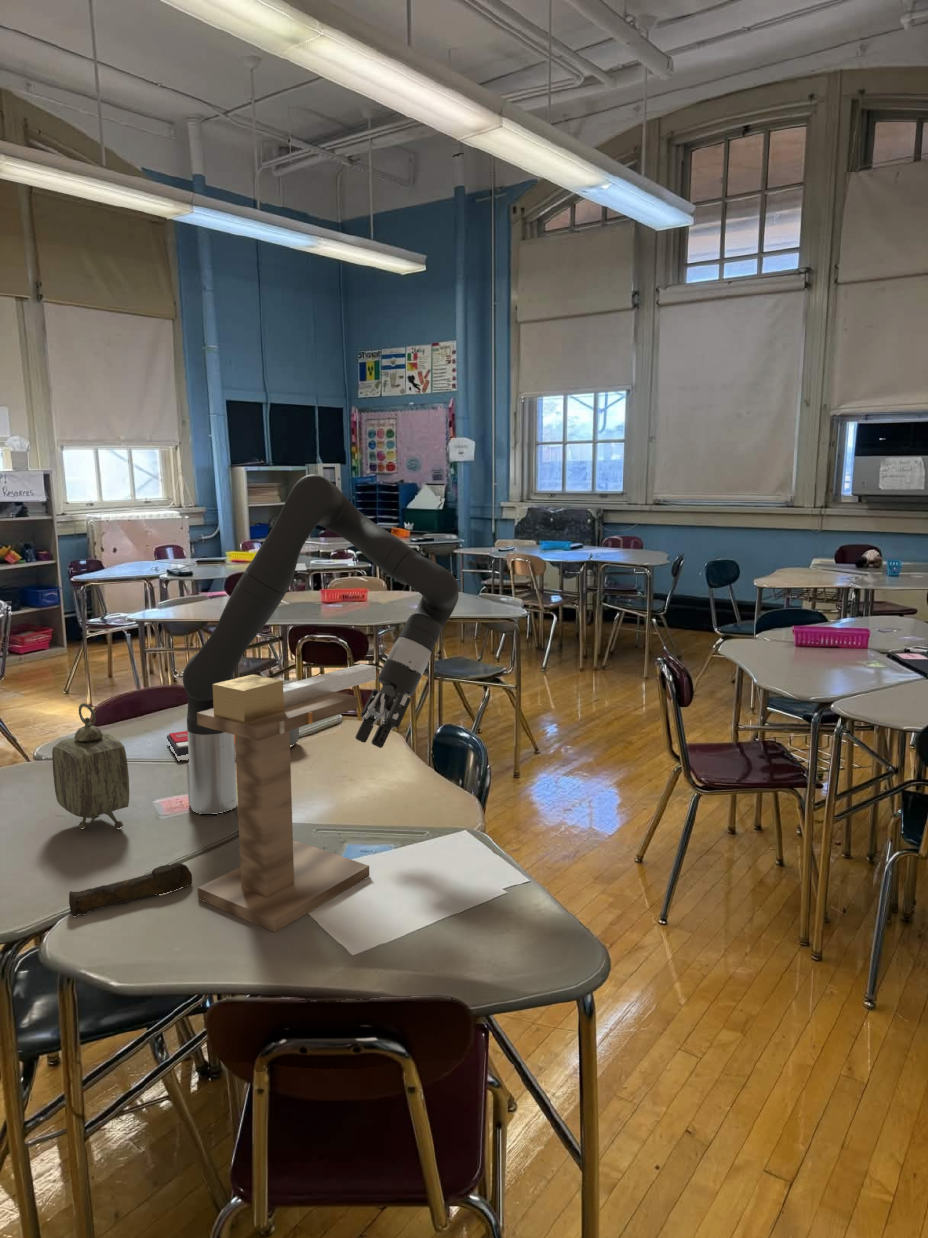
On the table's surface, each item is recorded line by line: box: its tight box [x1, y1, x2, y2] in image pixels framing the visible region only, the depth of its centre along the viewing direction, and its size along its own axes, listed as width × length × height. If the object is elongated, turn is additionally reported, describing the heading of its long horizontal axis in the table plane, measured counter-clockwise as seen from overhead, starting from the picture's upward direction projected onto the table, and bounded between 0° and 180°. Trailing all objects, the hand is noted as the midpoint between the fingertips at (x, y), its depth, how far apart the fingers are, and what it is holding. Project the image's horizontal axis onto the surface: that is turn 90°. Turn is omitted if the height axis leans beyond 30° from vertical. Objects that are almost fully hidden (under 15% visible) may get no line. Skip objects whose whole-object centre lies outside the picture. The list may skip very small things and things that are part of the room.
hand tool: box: [68, 862, 193, 917], centre depth 136 cm, size 19×4×5 cm, turn 121°
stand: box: [197, 691, 370, 933], centre depth 138 cm, size 18×22×32 cm
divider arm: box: [213, 663, 377, 723], centre depth 140 cm, size 7×32×5 cm, turn 146°
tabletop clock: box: [51, 702, 130, 829], centre depth 163 cm, size 14×9×25 cm, turn 47°
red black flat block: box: [166, 730, 189, 756], centre depth 212 cm, size 11×4×15 cm
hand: (367, 743), depth 156 cm, fingers open, 8 cm apart
